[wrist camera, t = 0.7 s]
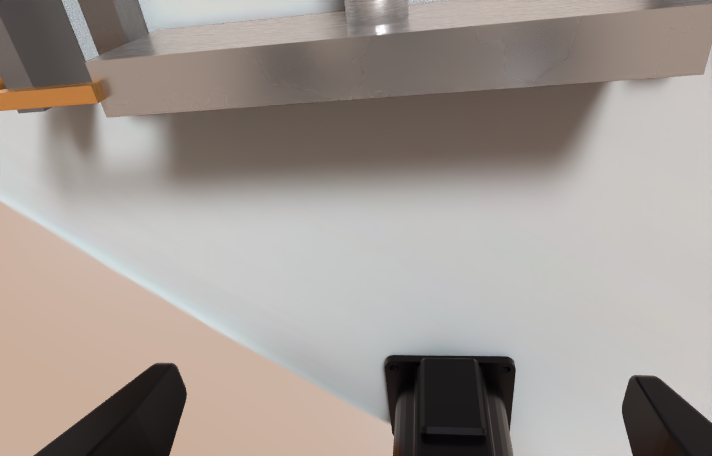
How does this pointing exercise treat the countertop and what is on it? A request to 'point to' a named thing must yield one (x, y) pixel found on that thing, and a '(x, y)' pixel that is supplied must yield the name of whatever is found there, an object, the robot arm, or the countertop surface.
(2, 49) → the gauge scale
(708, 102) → the countertop surface
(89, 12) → the frame
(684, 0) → the gauge plunger
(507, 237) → the countertop surface
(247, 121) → the countertop surface
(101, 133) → the countertop surface
